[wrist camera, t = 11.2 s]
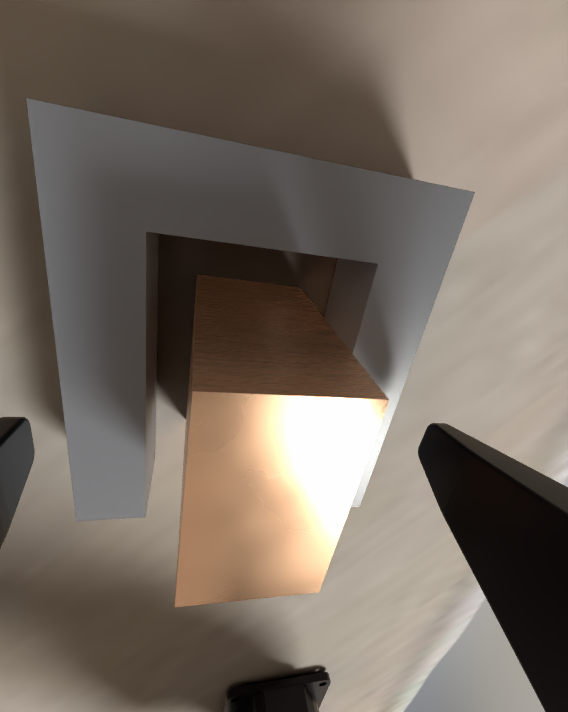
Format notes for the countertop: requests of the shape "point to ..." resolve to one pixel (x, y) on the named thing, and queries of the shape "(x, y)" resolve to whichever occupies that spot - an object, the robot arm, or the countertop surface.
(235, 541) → the orange tan block
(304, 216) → the grey u-shaped frame
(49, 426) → the countertop surface
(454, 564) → the countertop surface
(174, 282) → the countertop surface
